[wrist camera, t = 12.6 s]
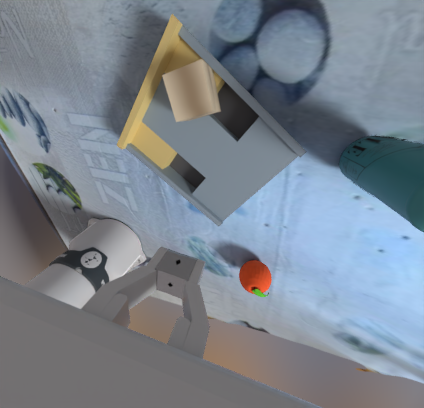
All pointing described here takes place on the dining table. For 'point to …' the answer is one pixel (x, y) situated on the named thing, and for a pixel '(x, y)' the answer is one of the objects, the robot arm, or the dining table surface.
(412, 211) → the beverage bottle
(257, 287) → the clementine
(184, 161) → the tray
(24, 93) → the dining table surface
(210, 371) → the robot arm
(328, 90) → the dining table surface
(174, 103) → the cube
